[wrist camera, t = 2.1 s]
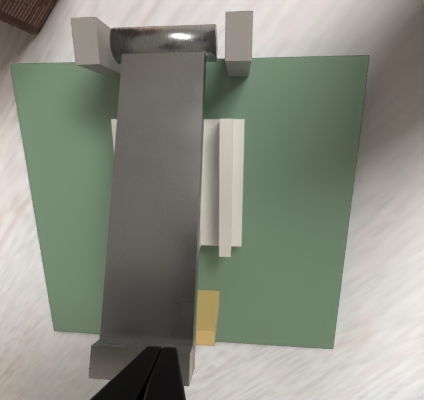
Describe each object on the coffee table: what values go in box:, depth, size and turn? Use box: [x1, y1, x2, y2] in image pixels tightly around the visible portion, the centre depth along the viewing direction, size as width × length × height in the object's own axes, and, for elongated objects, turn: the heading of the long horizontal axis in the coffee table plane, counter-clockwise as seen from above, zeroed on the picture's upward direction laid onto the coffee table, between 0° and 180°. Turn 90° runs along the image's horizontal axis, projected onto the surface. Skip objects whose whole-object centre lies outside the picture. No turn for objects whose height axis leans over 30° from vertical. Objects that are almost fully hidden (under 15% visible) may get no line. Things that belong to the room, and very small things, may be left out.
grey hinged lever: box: [89, 24, 217, 386], centre depth 13 cm, size 5×16×2 cm, turn 0°
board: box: [10, 11, 369, 349], centre depth 18 cm, size 22×21×6 cm
